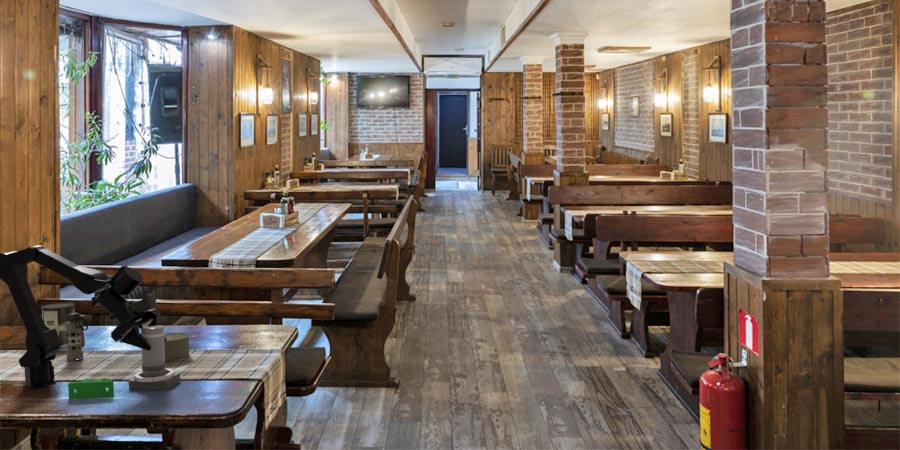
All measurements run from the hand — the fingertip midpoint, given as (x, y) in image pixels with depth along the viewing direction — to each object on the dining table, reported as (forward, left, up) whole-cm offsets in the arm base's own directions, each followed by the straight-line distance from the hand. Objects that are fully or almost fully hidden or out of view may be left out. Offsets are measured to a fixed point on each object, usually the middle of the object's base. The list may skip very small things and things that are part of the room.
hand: (157, 345), depth 204 cm
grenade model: (+4, +49, -12) cm, 50 cm away
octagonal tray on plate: (-1, +1, -12) cm, 12 cm away
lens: (-1, +1, -9) cm, 9 cm away
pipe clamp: (-15, +7, -12) cm, 21 cm away
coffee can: (+11, +74, -12) cm, 75 cm away
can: (+21, +25, -12) cm, 34 cm away
